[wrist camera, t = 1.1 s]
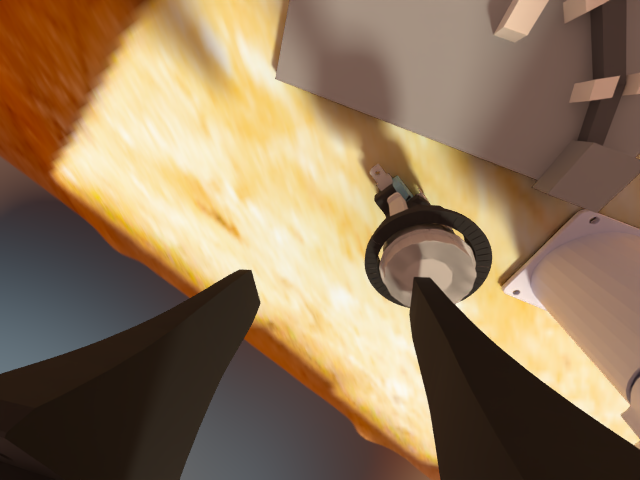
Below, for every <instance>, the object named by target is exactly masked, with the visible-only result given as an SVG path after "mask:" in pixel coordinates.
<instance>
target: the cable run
mask: <svg viewBox="0 0 640 480" xmlns="http://www.w3.org/2000/svg"><path fill="white" fill-rule="evenodd" d="M563 11H564V24H565V23H567V22H569V21H571V20H573V19H575V18H577V17H579V16H581V15H583V14H585V13H587V12H589V11H590V19H591V44H592V69H593V80H591V81H586V82H581V83H575V84H574V87H573V91H572V94H571V98H570V101H569V103H573V102H583V101H590V103H589V106H588V109H587V112H586V116H585V119H584V122H583V125H582V128H581V131H580V134H579V137H578V140H577V141H574V140H572V141H571V142H570V143H569V144H568V145H567V146H566V148H565V149H564V150H563V151H562V152H561V154H560V155H559V156H558V157H557V158H556V159H555V161H554V162H553V163H552V164H551V165H550V167H549V168H548V169H547V170H546V171H545V172H544V174H543V175H542V176H541V177H540V178H539V180H538V181H537V182H536V183H535V184H534V185H533V187H532V188H534V189H537V190H539V191H541V192H544V193H546V194H548V195H551V196H553V197H556V198H559V199H561V200H564V201H566V202H569V203H571V204H574V205H577V206H579V207H582V208H584V209H587V210H589V211H592V212H595V213H598V212H599V211H600V210H601V209H602V208H603V207H604V206H605V205H606V204H607V203H608V202H609V201H610V200H612V199H613V198H614V197H615V196H616V195H617V194H618V193H619V192H620V191H621V190H622V189H623V188H624V187H625V186H627V185H628V184H629V183H630V182H631V181H632V180H633V179H634V178H635V177H636V176H637V175H638V174H639V173H640V160H639V159H637V158H634V157H631V156H629V155H626V154H623V153H621V152H618V151H615V150H613V149H610V148H607V147H605V146H603V144H604V142H605V139H606V136H607V134H608V131H609V128H610V126H611V123H612V120H613V118H614V115H615V112H616V110H617V107H618V104H619V102H620V99H621V96H625V95H634V94H640V73H636V74H630V75H626V21H627V0H566V1H565V2H563Z"/></svg>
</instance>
